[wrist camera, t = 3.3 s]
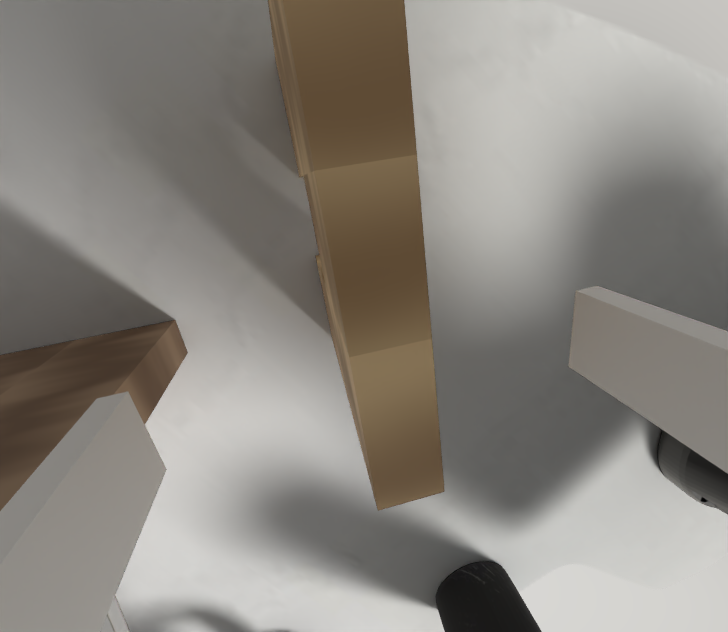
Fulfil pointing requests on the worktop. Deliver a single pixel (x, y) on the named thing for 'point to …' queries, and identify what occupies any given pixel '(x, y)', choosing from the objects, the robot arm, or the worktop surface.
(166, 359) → the notched stand
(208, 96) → the worktop surface
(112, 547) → the robot arm
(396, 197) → the notched board
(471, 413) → the worktop surface
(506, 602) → the travel mug
